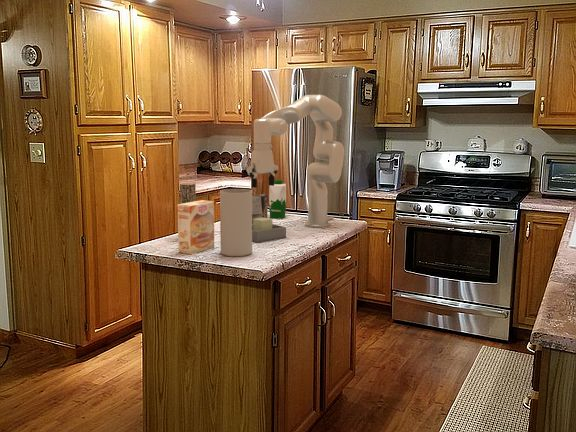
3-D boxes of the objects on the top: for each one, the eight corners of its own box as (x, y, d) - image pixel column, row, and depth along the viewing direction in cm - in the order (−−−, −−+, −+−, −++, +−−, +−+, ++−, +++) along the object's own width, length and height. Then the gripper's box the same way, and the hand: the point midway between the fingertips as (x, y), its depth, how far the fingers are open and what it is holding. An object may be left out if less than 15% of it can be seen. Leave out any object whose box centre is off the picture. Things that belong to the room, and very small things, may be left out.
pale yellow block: (263, 234, 260) (263, 217, 259) (272, 236, 255) (272, 219, 254) (253, 236, 256) (253, 218, 255) (261, 238, 252) (261, 220, 250)
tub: (267, 233, 266) (267, 222, 265) (286, 237, 256) (286, 227, 255) (238, 237, 255) (238, 226, 255) (257, 243, 246) (257, 231, 245)
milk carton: (286, 216, 311) (287, 179, 308) (284, 219, 303) (284, 181, 299) (271, 215, 313) (271, 179, 309) (267, 218, 304) (267, 181, 301)
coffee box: (263, 229, 275) (263, 196, 272) (250, 229, 276) (250, 196, 273) (268, 226, 284) (268, 194, 281) (255, 225, 285) (255, 193, 282)
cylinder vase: (216, 251, 230) (215, 189, 226) (245, 248, 235) (245, 188, 231) (226, 258, 219) (225, 193, 215) (256, 255, 224) (256, 192, 220)
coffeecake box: (191, 254, 224) (190, 205, 221) (177, 252, 228) (176, 204, 225) (215, 247, 237) (214, 201, 233) (202, 245, 241) (201, 199, 237)
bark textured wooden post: (199, 237, 255) (198, 182, 251) (190, 240, 249) (189, 183, 245) (186, 236, 258) (185, 181, 254) (177, 239, 252) (176, 182, 248)
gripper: (272, 146, 257) (272, 183, 260) (241, 147, 246) (242, 187, 249) (283, 147, 252) (283, 185, 255) (252, 148, 241) (252, 189, 244)
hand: (262, 186), depth 252 cm, fingers open, 9 cm apart
